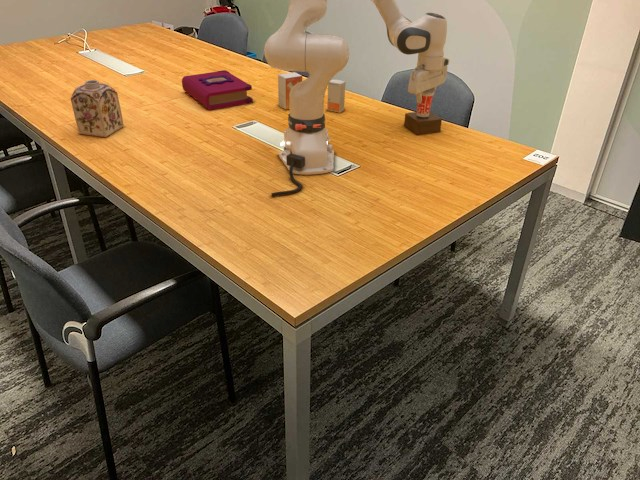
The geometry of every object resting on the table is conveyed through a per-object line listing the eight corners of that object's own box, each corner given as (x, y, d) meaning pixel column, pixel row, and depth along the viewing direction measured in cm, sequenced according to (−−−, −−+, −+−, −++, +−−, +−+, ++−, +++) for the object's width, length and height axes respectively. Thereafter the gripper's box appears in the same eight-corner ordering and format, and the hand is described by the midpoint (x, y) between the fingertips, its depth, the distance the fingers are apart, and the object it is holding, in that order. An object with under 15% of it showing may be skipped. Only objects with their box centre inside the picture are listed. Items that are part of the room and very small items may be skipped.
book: (207, 111, 213) (205, 92, 209) (183, 92, 233) (180, 75, 228) (253, 102, 222) (253, 84, 218) (226, 85, 242) (225, 68, 238)
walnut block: (440, 131, 198) (442, 119, 195) (416, 135, 195) (418, 122, 192) (426, 122, 206) (428, 110, 203) (403, 125, 203) (405, 113, 200)
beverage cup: (430, 112, 200) (435, 75, 192) (431, 118, 195) (437, 80, 187) (414, 111, 200) (418, 74, 192) (415, 117, 195) (419, 79, 187)
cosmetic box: (326, 110, 216) (327, 81, 209) (331, 107, 219) (332, 78, 212) (340, 113, 213) (341, 83, 207) (344, 110, 216) (345, 81, 210)
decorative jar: (125, 126, 197) (115, 78, 187) (106, 138, 188) (95, 87, 178) (97, 123, 200) (86, 75, 190) (77, 134, 190) (65, 84, 180)
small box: (285, 110, 215) (285, 78, 208) (278, 105, 220) (277, 74, 212) (302, 106, 219) (302, 75, 212) (294, 102, 223) (294, 71, 216)
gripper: (421, 69, 178) (416, 109, 186) (452, 59, 191) (446, 96, 199) (406, 66, 182) (401, 105, 190) (437, 55, 195) (431, 92, 202)
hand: (424, 100), depth 194 cm, fingers closed on beverage cup, 6 cm apart
